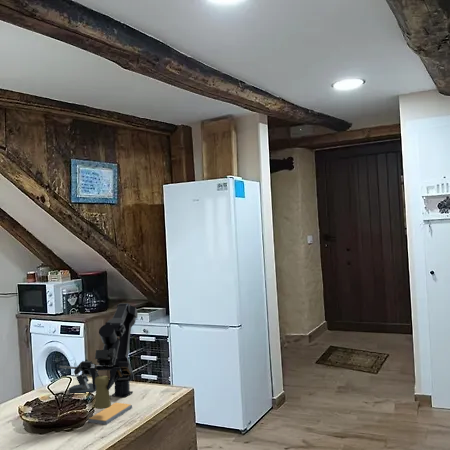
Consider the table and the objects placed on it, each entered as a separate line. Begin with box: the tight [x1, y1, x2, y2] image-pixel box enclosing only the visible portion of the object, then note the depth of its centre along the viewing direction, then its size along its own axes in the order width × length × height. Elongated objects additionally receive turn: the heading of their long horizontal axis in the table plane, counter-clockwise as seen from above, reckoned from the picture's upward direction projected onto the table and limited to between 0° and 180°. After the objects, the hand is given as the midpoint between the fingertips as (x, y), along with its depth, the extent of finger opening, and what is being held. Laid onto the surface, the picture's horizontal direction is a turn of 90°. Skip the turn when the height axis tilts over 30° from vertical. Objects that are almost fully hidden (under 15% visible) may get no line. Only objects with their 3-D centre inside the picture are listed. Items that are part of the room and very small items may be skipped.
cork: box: [94, 374, 112, 410], centre depth 189 cm, size 6×6×11 cm
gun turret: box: [58, 359, 96, 394], centre depth 225 cm, size 13×20×13 cm, turn 71°
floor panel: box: [87, 402, 133, 426], centre depth 194 cm, size 17×8×1 cm, turn 158°
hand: (100, 389), depth 188 cm, fingers closed on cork, 5 cm apart
